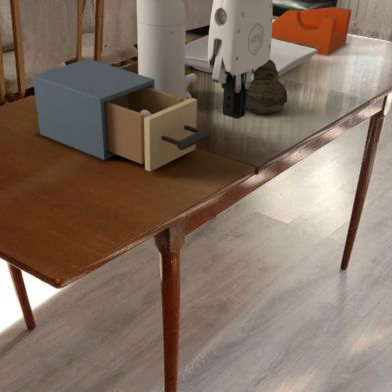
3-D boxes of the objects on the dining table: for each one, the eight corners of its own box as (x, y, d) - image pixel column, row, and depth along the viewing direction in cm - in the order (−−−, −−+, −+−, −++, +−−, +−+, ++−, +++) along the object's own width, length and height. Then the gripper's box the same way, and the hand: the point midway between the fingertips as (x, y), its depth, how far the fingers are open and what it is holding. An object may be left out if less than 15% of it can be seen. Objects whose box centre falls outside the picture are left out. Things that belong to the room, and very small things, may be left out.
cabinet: (155, 137, 118) (154, 79, 111) (104, 160, 110) (100, 99, 103) (92, 114, 125) (88, 58, 118) (40, 134, 117) (32, 75, 110)
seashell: (306, 74, 130) (266, 63, 134) (286, 52, 119) (243, 40, 124) (284, 128, 132) (245, 115, 137) (263, 110, 122) (221, 97, 126)
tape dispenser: (345, 43, 169) (351, 9, 164) (327, 55, 161) (333, 19, 156) (285, 31, 176) (289, -2, 171) (265, 41, 168) (268, 7, 162)
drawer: (218, 157, 110) (221, 106, 104) (173, 181, 103) (174, 128, 97) (131, 125, 119) (130, 78, 114) (84, 145, 112) (80, 95, 106)
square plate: (268, 93, 138) (270, 75, 136) (165, 68, 148) (165, 51, 146) (317, 63, 156) (320, 46, 153) (222, 42, 166) (223, 26, 163)
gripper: (234, -9, 78) (224, 136, 90) (295, -25, 87) (280, 108, 99) (187, -18, 81) (184, 122, 93) (251, -32, 91) (241, 97, 102)
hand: (233, 115), depth 96 cm, fingers closed
